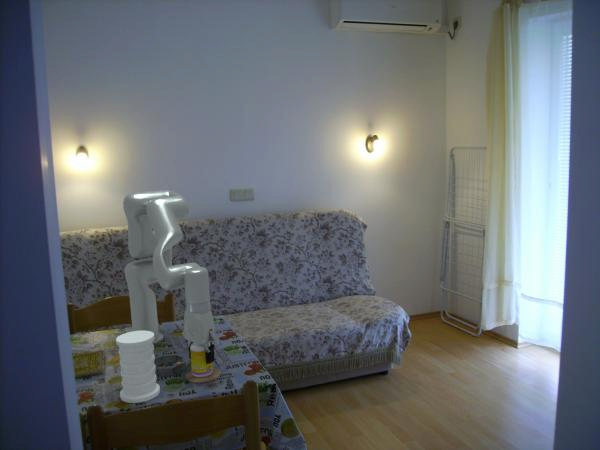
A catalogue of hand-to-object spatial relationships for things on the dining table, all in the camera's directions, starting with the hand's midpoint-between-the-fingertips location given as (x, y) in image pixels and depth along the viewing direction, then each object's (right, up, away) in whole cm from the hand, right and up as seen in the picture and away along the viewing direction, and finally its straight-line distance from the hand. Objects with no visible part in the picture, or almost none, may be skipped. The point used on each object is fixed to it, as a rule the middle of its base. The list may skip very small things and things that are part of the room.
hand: (201, 359), depth 172 cm
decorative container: (-17, -8, -10) cm, 21 cm away
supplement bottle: (0, -5, +1) cm, 5 cm away
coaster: (0, -5, +1) cm, 5 cm away
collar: (-13, -5, +8) cm, 16 cm away
